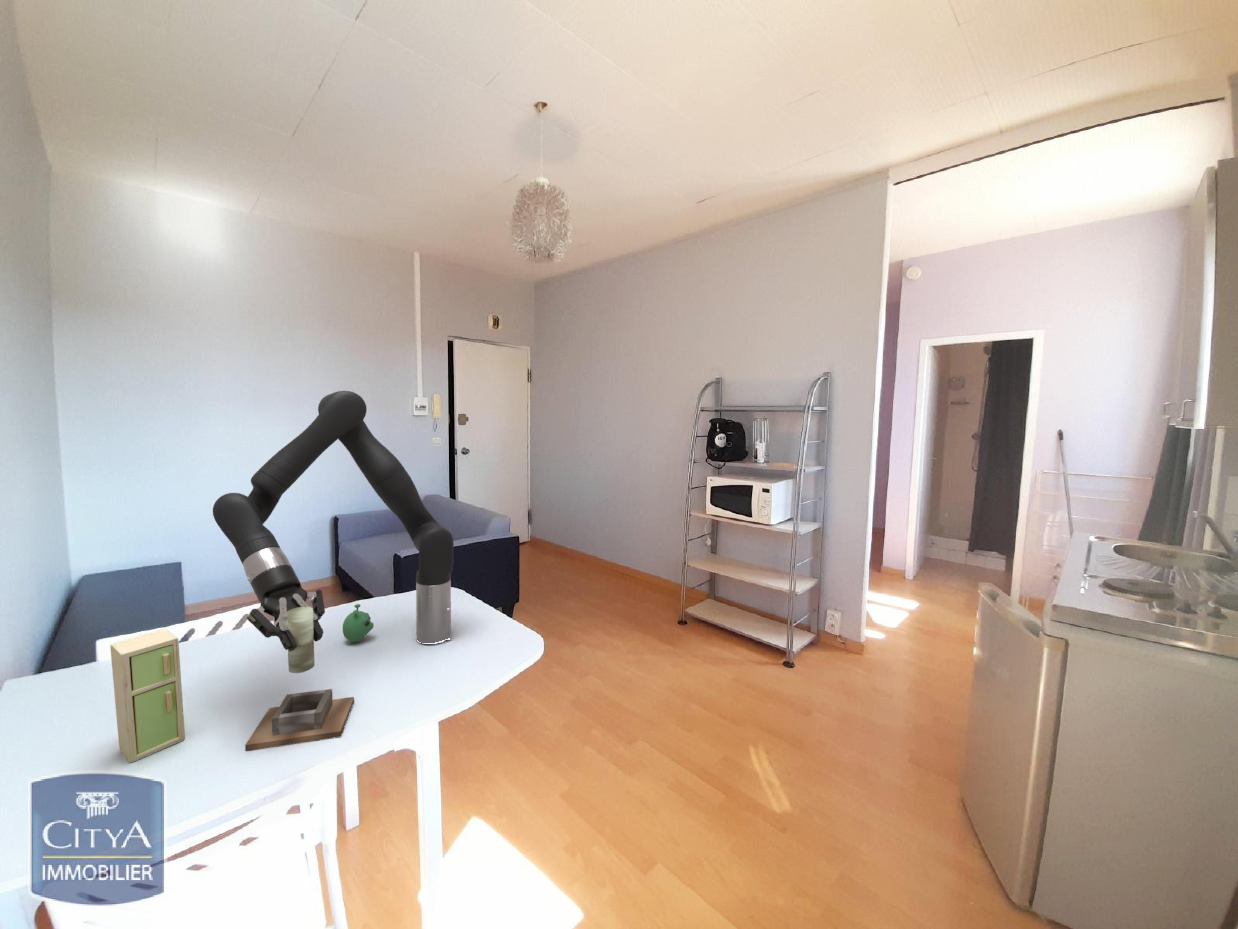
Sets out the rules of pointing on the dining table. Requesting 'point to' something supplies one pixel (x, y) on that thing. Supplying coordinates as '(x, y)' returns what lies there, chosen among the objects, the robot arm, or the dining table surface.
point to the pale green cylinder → (301, 639)
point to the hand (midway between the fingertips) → (306, 643)
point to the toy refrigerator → (147, 693)
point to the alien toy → (357, 625)
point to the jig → (302, 720)
